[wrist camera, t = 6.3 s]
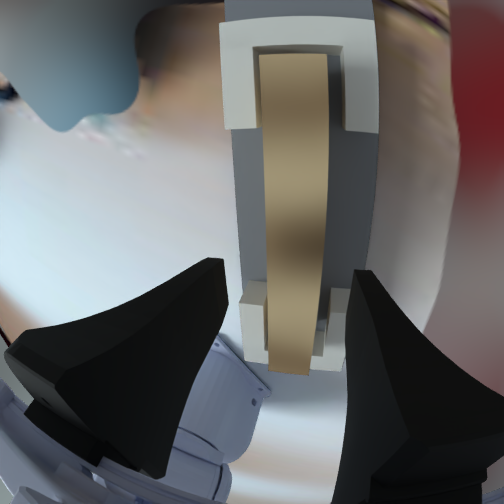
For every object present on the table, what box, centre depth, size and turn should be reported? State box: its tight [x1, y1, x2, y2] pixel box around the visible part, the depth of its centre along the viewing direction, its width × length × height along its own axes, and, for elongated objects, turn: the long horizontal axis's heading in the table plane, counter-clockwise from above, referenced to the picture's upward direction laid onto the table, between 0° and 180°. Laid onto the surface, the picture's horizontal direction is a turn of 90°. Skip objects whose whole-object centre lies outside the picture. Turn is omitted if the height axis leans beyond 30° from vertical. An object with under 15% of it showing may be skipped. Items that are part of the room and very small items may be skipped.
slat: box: [259, 54, 329, 376], centre depth 14 cm, size 16×2×5 cm, turn 3°
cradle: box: [219, 0, 379, 372], centre depth 16 cm, size 26×8×4 cm, turn 3°
